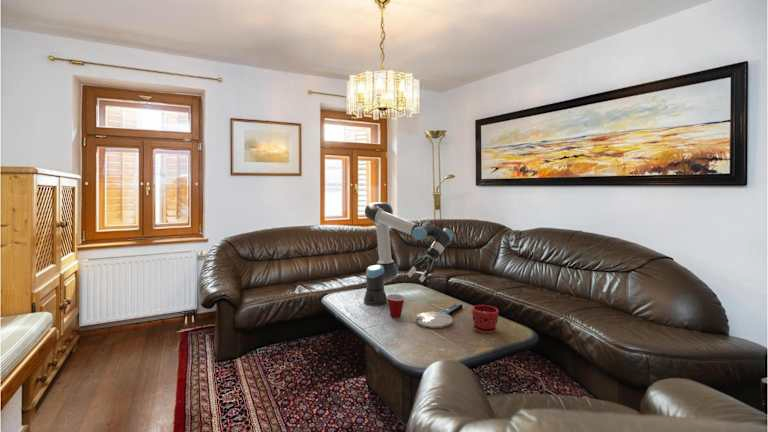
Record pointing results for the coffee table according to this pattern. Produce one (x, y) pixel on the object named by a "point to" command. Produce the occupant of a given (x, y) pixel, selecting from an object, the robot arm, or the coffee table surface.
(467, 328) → the coffee table surface
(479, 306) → the plant pot
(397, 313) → the plastic cup
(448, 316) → the disc
